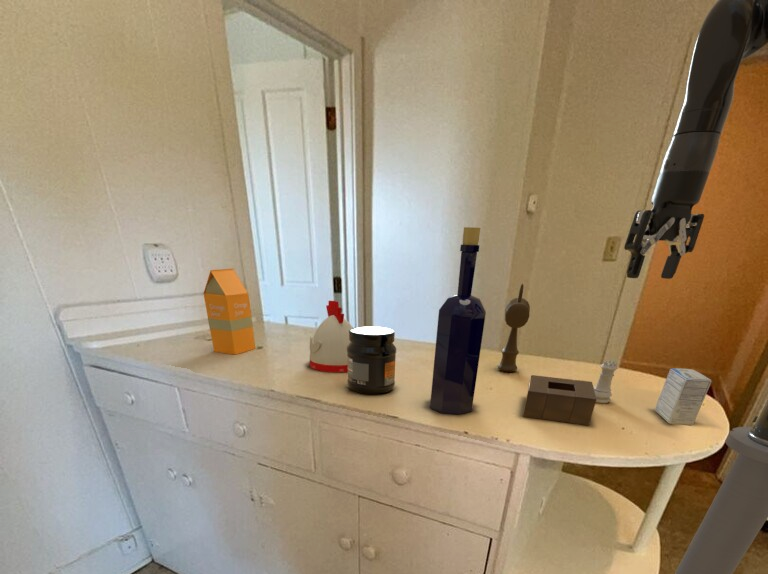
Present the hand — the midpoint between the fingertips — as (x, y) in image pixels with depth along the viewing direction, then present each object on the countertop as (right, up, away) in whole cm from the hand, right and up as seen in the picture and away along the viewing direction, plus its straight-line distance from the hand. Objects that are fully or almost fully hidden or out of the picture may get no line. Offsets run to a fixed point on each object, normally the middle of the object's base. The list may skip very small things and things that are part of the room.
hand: (649, 278), depth 82 cm
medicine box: (+6, -27, +2) cm, 27 cm away
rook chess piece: (-5, -21, +10) cm, 24 cm away
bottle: (-38, -24, +4) cm, 45 cm away
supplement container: (-54, -18, +13) cm, 58 cm away
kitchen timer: (-63, -7, +29) cm, 70 cm away
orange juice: (-94, +1, +39) cm, 102 cm away
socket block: (-17, -25, +3) cm, 30 cm away
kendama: (-19, -8, +29) cm, 36 cm away
